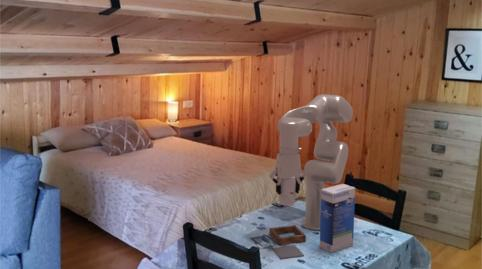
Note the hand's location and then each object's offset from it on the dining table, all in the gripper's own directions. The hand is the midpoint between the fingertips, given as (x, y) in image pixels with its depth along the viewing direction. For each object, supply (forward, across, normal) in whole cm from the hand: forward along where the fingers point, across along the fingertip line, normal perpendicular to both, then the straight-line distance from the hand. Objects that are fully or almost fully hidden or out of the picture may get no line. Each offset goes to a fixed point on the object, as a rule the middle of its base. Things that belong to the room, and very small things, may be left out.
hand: (287, 192), depth 199 cm
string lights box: (+24, -21, +4) cm, 32 cm away
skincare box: (+5, 0, 0) cm, 5 cm away
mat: (+24, +1, +4) cm, 25 cm away
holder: (+24, -4, -10) cm, 26 cm away
